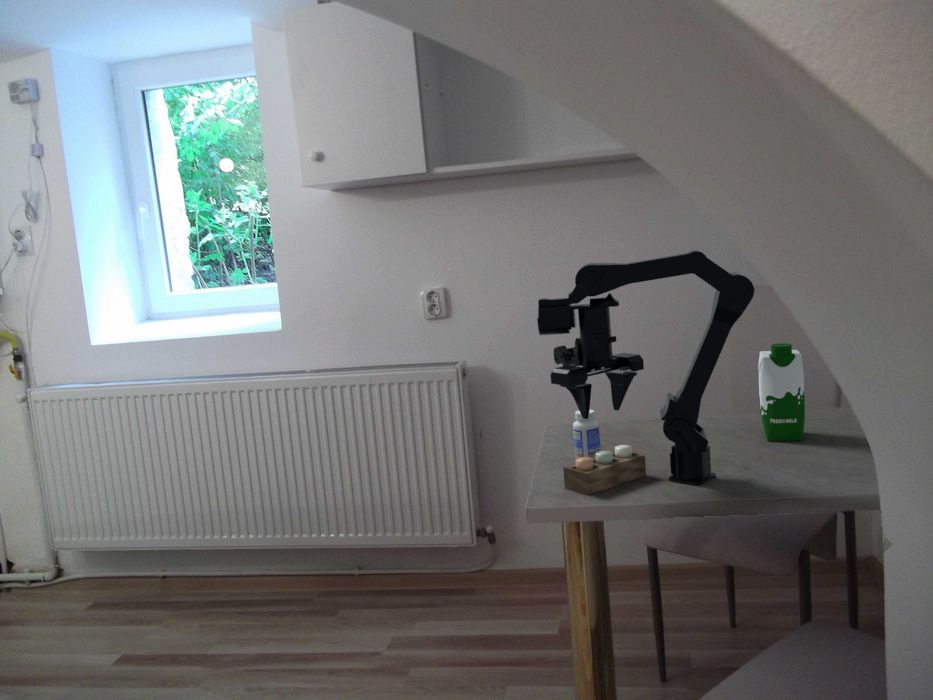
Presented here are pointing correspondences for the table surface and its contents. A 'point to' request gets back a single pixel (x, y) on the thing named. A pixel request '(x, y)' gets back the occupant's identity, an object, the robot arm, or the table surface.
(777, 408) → the milk carton
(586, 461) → the peach oval piece
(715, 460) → the table surface
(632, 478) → the wooden egg tray
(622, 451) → the white rounded piece
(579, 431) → the pill bottle
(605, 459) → the sage egg
